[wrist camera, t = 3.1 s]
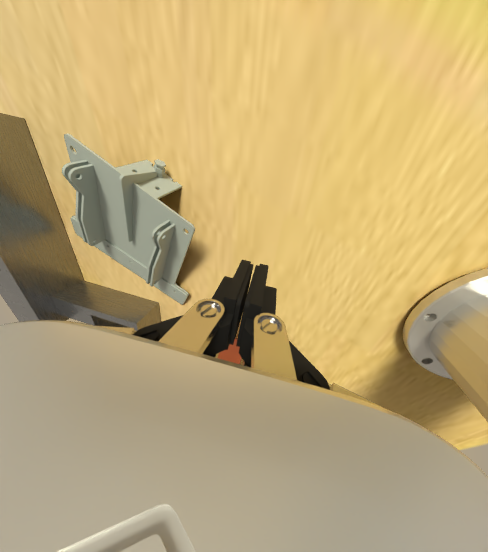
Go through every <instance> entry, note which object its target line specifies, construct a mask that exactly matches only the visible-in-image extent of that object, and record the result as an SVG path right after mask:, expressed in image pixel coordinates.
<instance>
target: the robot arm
mask: <svg viewBox="0 0 488 552" xmlns="http://www.w3.org/2000/svg"><path fill="white" fill-rule="evenodd" d="M250 263H251V262H250V261H246V260H242V261H241V263H240V265H239V267H238V269H237V271H236V273H235V275H234V277H233V278H230V277H226V276H225V277H224V278H223V280H222V282H221V283H220V285H219V287H218V289H217V290H216V292H215V294H214V296H213V297H212V299H202V300H200V301H198V302H197V303H195V304H194V305H193V306H192V307H191V308H190V309H189V310H188V311H187V312H186V313H185V314H184V315H183V316H179V317H176V318H173V319H169V320H166V321H163V322H159V323H156V324H153V325H149V326H146V327H144V328H141V329H139V330H138V331H135V329H134V328H124V327H108V326H94V325H89V324H84V323H78V322H71V321H60V320H33V321H22V322H14V323H9V324H4V325H0V552H488V476H487V475H486V474H485V473H484V472H483V471H482V470H481V469H480V468H479V467H478V466H477V465H476V464H475V463H474V462H473V461H471V460H470V459H469V458H468V457H467V456H466V455H464V454H463V453H462V452H461V451H459V450H458V449H457V448H455V447H454V446H453V445H451V444H450V443H448V442H447V441H446V440H444V439H443V438H441V437H439V436H438V435H436V434H434V433H433V432H431V431H430V430H428V429H426V428H425V427H423V426H421V425H419V424H418V423H416V422H414V421H412V420H410V419H408V418H406V417H404V416H402V415H400V414H398V413H395V412H393V411H390V410H388V409H385V408H384V407H382V406H380V405H378V404H376V403H374V402H372V401H370V400H368V399H365V398H363V397H361V396H359V395H357V394H355V393H353V392H351V391H349V390H347V389H345V388H343V387H341V386H339V385H337V384H335V383H333V384H332V385H331V384H329V383H328V382H327V380H326V379H325V378H324V377H323V375H322V374H321V373H320V372H319V371H318V370H317V369H316V368H315V367H314V366H313V365H312V364H311V363H310V362H309V361H308V360H307V359H306V358H305V357H304V356H303V355H302V354H301V353H300V352H299V351H298V349H297V348H296V347H295V346H294V345H293V344H292V343H291V342H290V341H289V340H288V335H287V331H286V326H285V324H284V322H283V321H282V320H281V319H280V318H279V317H278V316H276V315H275V310H276V291H277V289H276V288H272V287H268V286H265V285H266V279H267V272H268V265H263V264H260V266H257V265H256V267H255V271H254V274H253V277H252V281H251V284H250V279H251V274H252V270H253V264H250ZM249 284H250V287H249ZM248 289H249V291H248ZM242 313H243V315H242ZM241 316H242V320H241ZM240 320H241V325H240V330H239V334H238V339H237V344H236V346H238V347H240V348H239V354H240V356H241V357H242V359H243V360H244V362H243V365H240V364H237V363H233V362H229V361H226V360H222V359H219V358H218V355H219V353H220V352H222V351H224V350H228V347H229V344H231V345H233V344H234V340H235V337H236V334H237V330H238V327H239V323H240ZM403 341H404V344H405V347H406V348H407V350H408V351H409V353H410V355H411V356H412V358H413V359H414V360H415V361H416V362H417V363H418V364H419V365H420V366H422V367H423V368H425V369H426V370H428V371H430V372H432V373H434V374H437V375H439V376H442V377H445V378H449V379H452V380H454V381H455V382H456V383H457V385H458V386H459V387H460V388H461V390H462V391H463V392H464V393H465V395H466V396H467V397H468V398H469V400H470V401H471V402H472V403H473V404H474V406H475V407H476V408H477V409H478V411H479V412H480V413H481V414H482V416H483V417H484V418H485V419H486V421H487V422H488V268H486V269H483V270H479V271H476V272H473V273H470V274H467V275H465V276H463V277H460V278H458V279H456V280H453V281H451V282H449V283H447V284H446V285H444V286H442V287H440V288H439V289H437V290H435V291H434V292H432V293H431V294H430V295H428V296H427V297H426V298H424V299H423V300H422V301H421V302H420V303H419V304H418V305H417V306H416V307H415V308H414V309H413V310H412V312H411V313H410V315H409V316H408V318H407V320H406V322H405V325H404V328H403Z"/></svg>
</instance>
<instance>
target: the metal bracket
mask: <svg viewBox="0 0 488 552" xmlns="http://www.w3.org/2000/svg"><path fill="white" fill-rule="evenodd" d="M64 138H65V142H66V146H67V150H68V153H69V157H70V161H71V163H67V164H65V165H64V166H63V168H62V174H63V175H64V177H65V178H66V179H67V180H68V181H69V183H70V184H71V185H72V186H73V187H74V188H75V190H76V216H72V218H71V221H72V224H73V227H74V230H75V233H76V234H77V235H78V236H80V237H81V238H83V240H84V241H85V242H86V243H88V244H89V245H91V246H95V247H96V248H98V249H99V250H101V251H102V252H104V253H105V254H107V255H108V256H110V257H111V258H113V259H114V260H116V261H117V262H119V263H120V264H122V265H123V266H125V267H126V268H128V269H129V270H131V271H132V272H134V273H135V274H137V275H138V276H140V277H141V278H143V279H144V280H146V283H147V284H149V283H150V286H155V287H156V288H158V289H159V290H161V291H162V292H164V293H165V294H167V295H168V296H170V297H171V298H173V299H174V300H176V301H177V302H179V303H180V304H182V305H183V304H184V303H185V301H186V299H187V297H188V295H189V294H188V292H187V291H185V290H184V289H182V288H181V287H179V286H178V285H177V284H176V280H177V277H178V275H179V272H180V269H181V266H182V264H183V261H184V258H185V256H186V253H187V250H188V248H189V245H190V242H191V239H192V237H193V234H194V231H195V227H194V226H193V225H192V224H191V223H190V222H188V221H187V220H186V219H184V218H183V217H182V216H180V215H179V214H178V213H176V212H175V211H173V210H172V209H171V208H169V207H168V206H167V205H165V204H164V203H163V202H161V201H160V200H158V199H160V198H162V197H164V196H166V195H168V194H170V193H172V192H174V191H176V190H178V189H180V188H181V187H182V186H181V185H180V184H179V183H177V182H173V179H172V178H171V177H169V176H168V175H167V174H166V173H165V168H164V167H166V165H165V163H164V162H163V161H161V160H159V159H158V160H155V161H154V162H155V165H154V167H153V166H152V165H153V164H152V163H151V162H150V161H148V160H144V161H140V162H136V163H132V164H128V165H125V166H121V167H117V168H115V167H113V166H112V165H111V164H109V163H108V162H107V161H105V160H104V159H103V158H101V157H100V156H98V155H97V154H96V153H94V152H93V151H92V150H90V149H89V148H87V147H86V146H85V145H83V144H82V143H81V142H79V141H78V140H77V139H75V138H74V137H72V136H71V135H70V134H64ZM72 146H73V147H74V149H75V150H76V152H77V153H76V152H75V151H74V150H73V147H72ZM134 172H136V173H134ZM156 188H157V189H159V190H157V189H156ZM184 229H187V230H188V232H189V234H188V233H186V232H185V230H184Z"/></svg>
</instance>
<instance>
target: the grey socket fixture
mask: <svg viewBox="0 0 488 552" xmlns="http://www.w3.org/2000/svg"><path fill="white" fill-rule="evenodd" d="M0 294H1V296H2V297H3V299H4V300H5V302H6V303H7V304H8V306H9V307H10V309H11V310H12V312H13V313H14V315H15V316H16V317H17V319H18V320H19V322H22V321H33V320H60V321H66V320H68V319H69V318H72V319H75V320H78V321H81V322H84V323H87V324H89V325H94V326H108V327H124V328H134V329H135V331H138V330H139V329H141V328H144V327H146V326H149V325H153V324H156V323H159V322H161V318H160V309H159V303H157V302H154V301H151V300H147V299H144V298H140V297H137V296H134V295H130V294H127V293H123V292H120V291H117V290H113V289H110V288H106V287H103V286H100V285H96V284H93V283H89V282H86V281H84V279H83V276H82V274H81V271H80V268H79V266H78V263H77V260H76V257H75V255H74V252H73V249H72V247H71V244H70V241H69V239H68V236H67V233H66V230H65V228H64V225H63V222H62V220H61V217H60V214H59V211H58V209H57V206H56V203H55V201H54V198H53V195H52V192H51V190H50V187H49V184H48V182H47V179H46V176H45V173H44V171H43V168H42V165H41V163H40V160H39V157H38V154H37V152H36V149H35V146H34V144H33V141H32V138H31V136H30V133H29V130H28V127H27V125H26V122H25V119H24V118H19V117H15V116H10V115H6V114H2V113H0Z"/></svg>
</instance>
